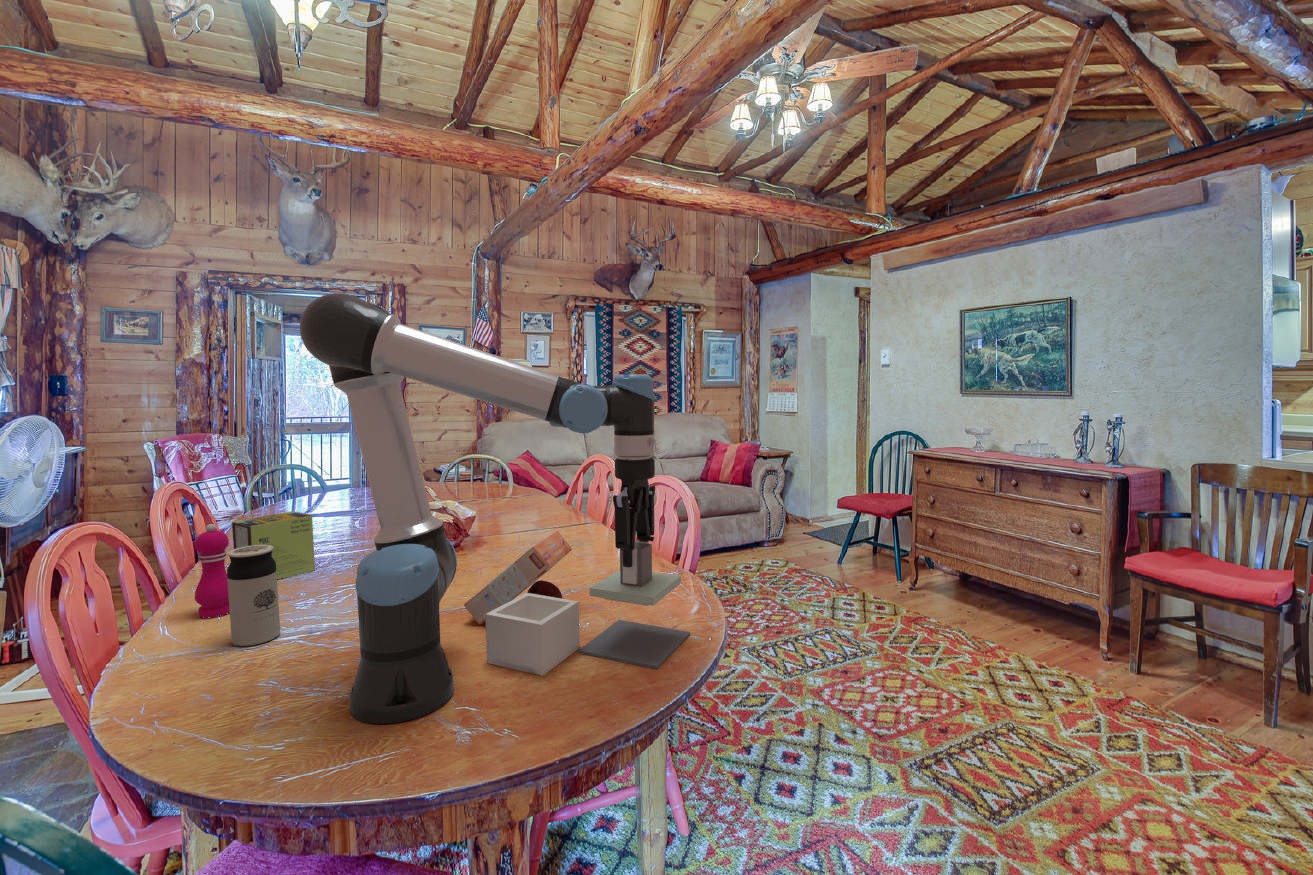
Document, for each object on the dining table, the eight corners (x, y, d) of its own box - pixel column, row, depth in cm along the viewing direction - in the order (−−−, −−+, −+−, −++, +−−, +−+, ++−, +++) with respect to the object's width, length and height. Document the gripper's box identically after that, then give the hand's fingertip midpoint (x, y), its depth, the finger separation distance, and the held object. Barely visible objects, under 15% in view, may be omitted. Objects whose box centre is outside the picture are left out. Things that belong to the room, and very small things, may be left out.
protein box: (316, 570, 161) (313, 514, 160) (253, 586, 148) (249, 525, 147) (296, 564, 167) (293, 510, 166) (234, 579, 154) (230, 521, 153)
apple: (523, 613, 130) (523, 577, 129) (559, 608, 132) (558, 573, 131) (528, 626, 123) (527, 588, 122) (565, 620, 125) (565, 584, 124)
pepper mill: (240, 612, 131) (234, 523, 129) (199, 622, 126) (193, 529, 124) (232, 604, 136) (226, 518, 134) (192, 613, 131) (186, 524, 129)
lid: (653, 611, 104) (652, 558, 104) (589, 601, 110) (588, 550, 109) (680, 588, 116) (680, 540, 115) (622, 580, 122) (621, 534, 121)
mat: (657, 669, 103) (657, 666, 103) (578, 652, 110) (578, 650, 110) (690, 634, 118) (690, 631, 118) (619, 621, 124) (619, 619, 124)
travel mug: (226, 639, 117) (220, 550, 115) (272, 627, 123) (267, 542, 121) (239, 651, 112) (233, 557, 110) (286, 637, 118) (281, 548, 116)
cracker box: (479, 627, 123) (550, 567, 118) (461, 605, 123) (531, 544, 119) (509, 603, 136) (574, 548, 132) (493, 583, 137) (557, 528, 132)
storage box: (542, 675, 101) (541, 624, 100) (486, 662, 106) (485, 614, 105) (579, 647, 112) (578, 601, 111) (527, 637, 117) (526, 592, 116)
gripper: (631, 463, 101) (633, 596, 103) (671, 452, 117) (672, 568, 119) (593, 461, 104) (595, 590, 106) (637, 451, 120) (638, 563, 122)
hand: (636, 578), depth 113 cm, fingers closed on lid, 4 cm apart
